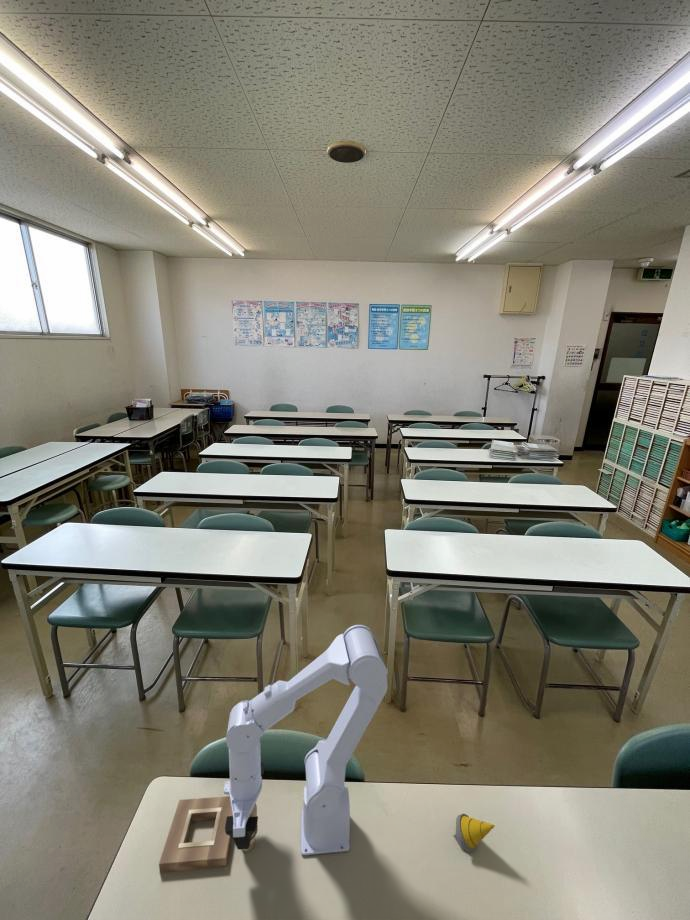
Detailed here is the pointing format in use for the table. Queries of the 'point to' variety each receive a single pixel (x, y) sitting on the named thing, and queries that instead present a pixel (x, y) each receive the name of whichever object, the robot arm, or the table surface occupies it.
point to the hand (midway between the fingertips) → (246, 823)
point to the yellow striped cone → (470, 832)
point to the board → (197, 853)
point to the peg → (253, 837)
